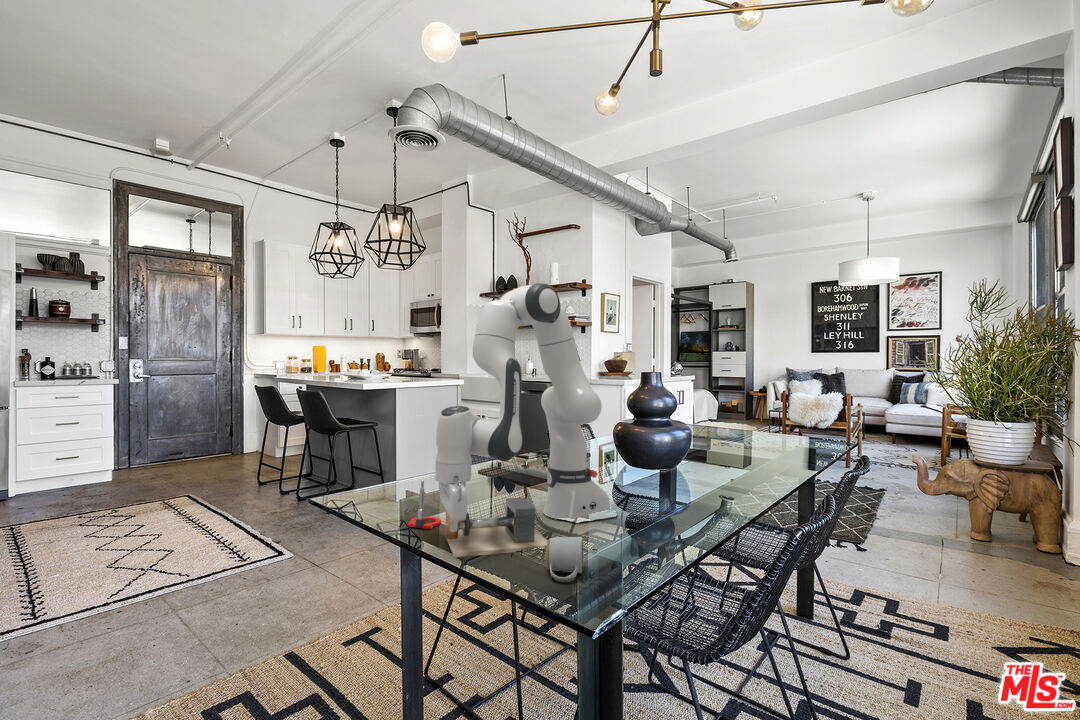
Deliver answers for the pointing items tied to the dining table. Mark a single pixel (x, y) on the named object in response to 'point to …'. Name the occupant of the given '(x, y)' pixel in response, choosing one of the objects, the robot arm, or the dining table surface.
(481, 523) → the flanged metal rod
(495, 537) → the base board
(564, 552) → the ceramic mug
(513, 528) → the eye bracket
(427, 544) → the dining table surface
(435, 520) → the tow hook
